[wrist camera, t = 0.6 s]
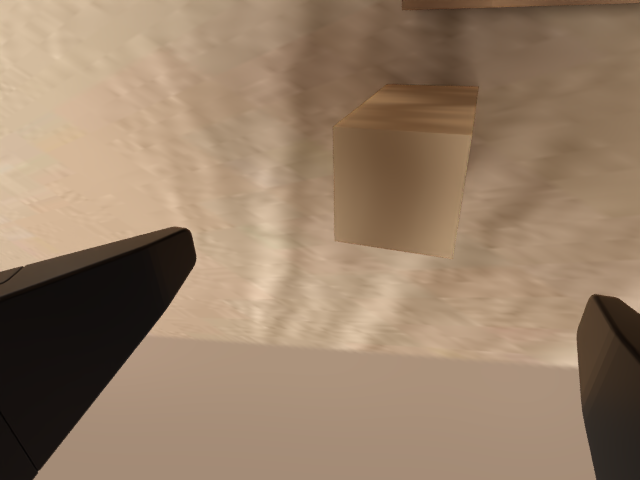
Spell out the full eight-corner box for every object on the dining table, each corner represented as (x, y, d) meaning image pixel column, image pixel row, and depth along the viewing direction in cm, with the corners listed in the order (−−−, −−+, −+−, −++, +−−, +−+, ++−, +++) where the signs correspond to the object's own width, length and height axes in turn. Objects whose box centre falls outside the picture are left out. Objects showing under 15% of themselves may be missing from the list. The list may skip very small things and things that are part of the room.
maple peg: (478, 86, 18) (471, 135, 11) (464, 174, 20) (452, 258, 13) (387, 84, 19) (332, 126, 12) (383, 166, 21) (334, 240, 14)
